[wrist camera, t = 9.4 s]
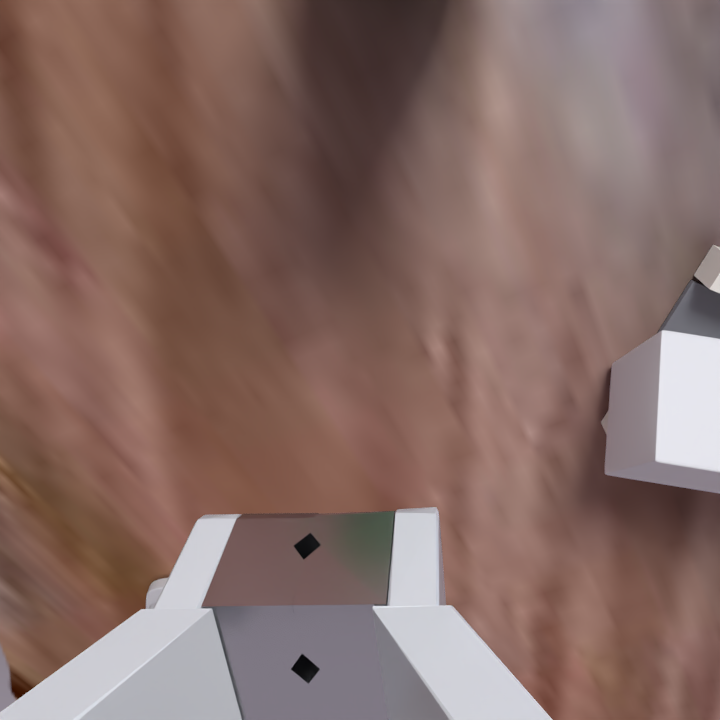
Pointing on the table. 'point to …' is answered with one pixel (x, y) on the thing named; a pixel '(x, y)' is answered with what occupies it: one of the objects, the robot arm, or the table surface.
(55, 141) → the table surface
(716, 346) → the milk carton
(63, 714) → the robot arm
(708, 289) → the cradle
